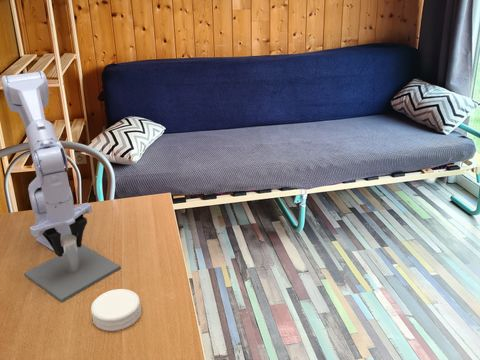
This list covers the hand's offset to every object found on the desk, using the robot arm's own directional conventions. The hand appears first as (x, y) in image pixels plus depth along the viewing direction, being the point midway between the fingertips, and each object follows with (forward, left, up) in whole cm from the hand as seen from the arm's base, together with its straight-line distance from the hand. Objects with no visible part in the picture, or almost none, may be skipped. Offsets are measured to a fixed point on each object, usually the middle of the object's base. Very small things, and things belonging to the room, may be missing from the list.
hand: (68, 250), depth 118 cm
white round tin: (+21, -3, -7) cm, 22 cm away
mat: (0, 0, -6) cm, 6 cm away
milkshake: (0, 0, -6) cm, 6 cm away
